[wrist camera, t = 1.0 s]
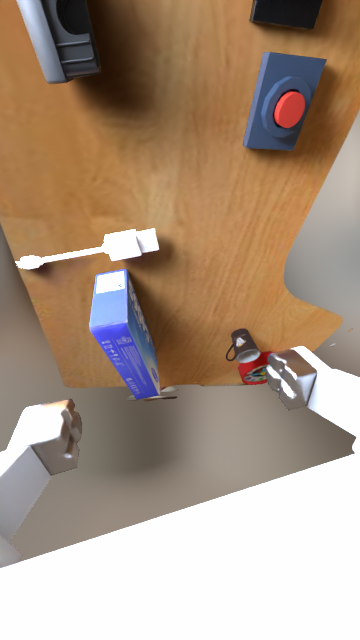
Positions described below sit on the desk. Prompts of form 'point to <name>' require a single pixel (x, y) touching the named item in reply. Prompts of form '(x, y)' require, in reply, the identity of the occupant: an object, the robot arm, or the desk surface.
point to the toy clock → (255, 370)
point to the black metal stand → (286, 13)
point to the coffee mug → (243, 347)
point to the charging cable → (106, 248)
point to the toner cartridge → (124, 333)
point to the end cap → (61, 38)
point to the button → (289, 109)
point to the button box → (271, 85)
